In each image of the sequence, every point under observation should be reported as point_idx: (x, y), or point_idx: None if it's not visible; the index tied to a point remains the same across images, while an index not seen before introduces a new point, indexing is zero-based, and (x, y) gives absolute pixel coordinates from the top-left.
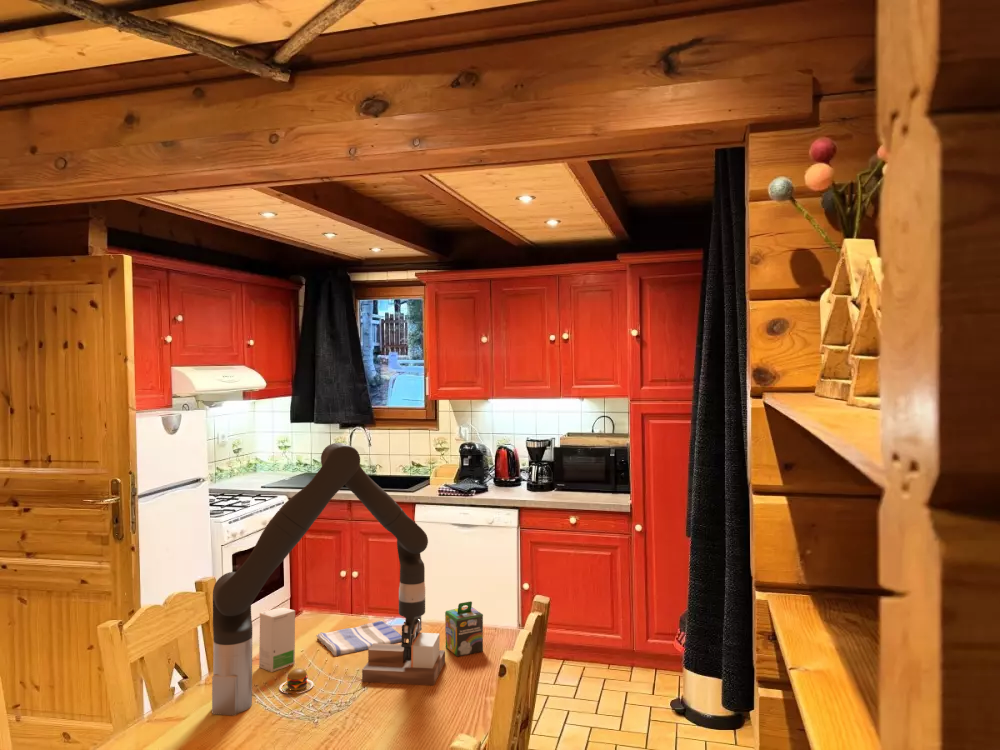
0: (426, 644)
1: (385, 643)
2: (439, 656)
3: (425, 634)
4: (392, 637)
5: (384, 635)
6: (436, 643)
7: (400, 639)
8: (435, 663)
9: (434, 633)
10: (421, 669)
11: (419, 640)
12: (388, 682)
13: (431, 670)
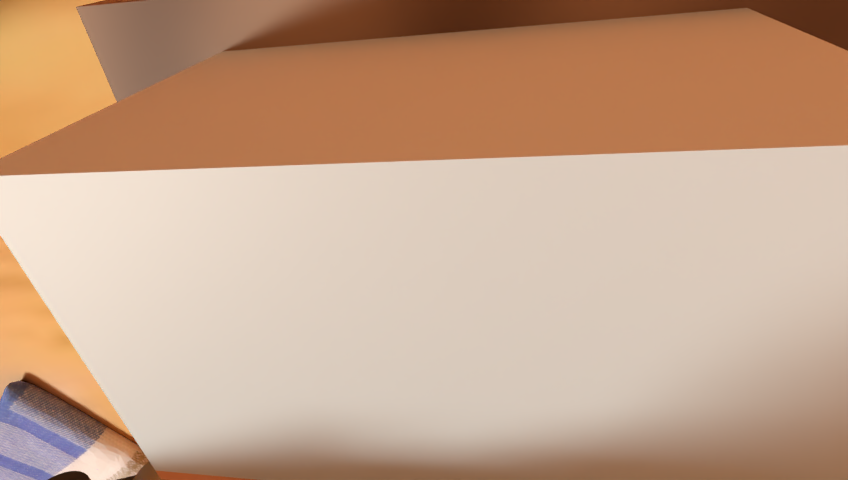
0: (791, 334)
1: (129, 454)
2: (291, 28)
3: (186, 411)
4: (49, 443)
5: (52, 474)
6: (387, 119)
7: (33, 402)
8: (549, 15)
9: (42, 281)
10: None
11: (514, 465)
12: None
13: (839, 1)
